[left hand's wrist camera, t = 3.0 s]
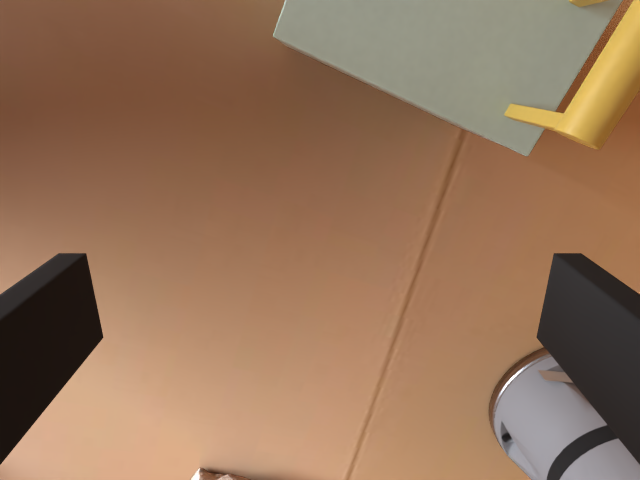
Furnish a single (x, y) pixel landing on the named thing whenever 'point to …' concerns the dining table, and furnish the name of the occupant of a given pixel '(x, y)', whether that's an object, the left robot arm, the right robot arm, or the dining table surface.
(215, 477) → the stone
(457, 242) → the dining table surface
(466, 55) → the lid
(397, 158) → the dining table surface
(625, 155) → the dining table surface
